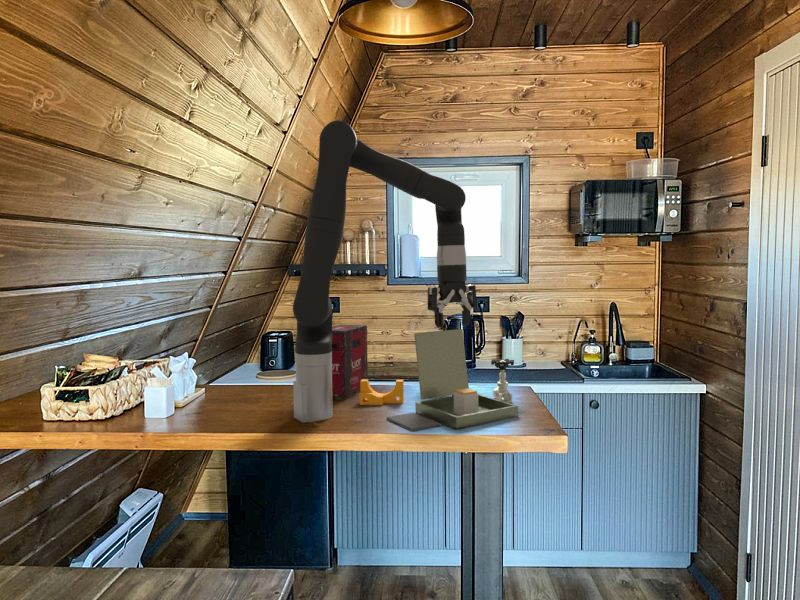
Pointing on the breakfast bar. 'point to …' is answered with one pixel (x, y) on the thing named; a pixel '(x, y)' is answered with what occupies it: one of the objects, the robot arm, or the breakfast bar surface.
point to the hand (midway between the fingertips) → (453, 325)
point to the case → (487, 413)
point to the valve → (502, 381)
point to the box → (348, 360)
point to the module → (465, 401)
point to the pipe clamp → (380, 394)
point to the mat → (413, 421)
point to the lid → (441, 363)
